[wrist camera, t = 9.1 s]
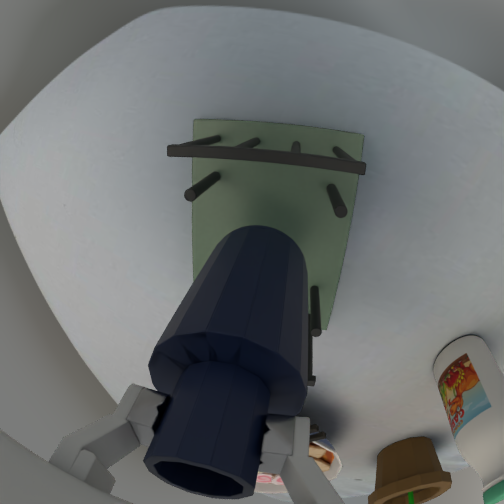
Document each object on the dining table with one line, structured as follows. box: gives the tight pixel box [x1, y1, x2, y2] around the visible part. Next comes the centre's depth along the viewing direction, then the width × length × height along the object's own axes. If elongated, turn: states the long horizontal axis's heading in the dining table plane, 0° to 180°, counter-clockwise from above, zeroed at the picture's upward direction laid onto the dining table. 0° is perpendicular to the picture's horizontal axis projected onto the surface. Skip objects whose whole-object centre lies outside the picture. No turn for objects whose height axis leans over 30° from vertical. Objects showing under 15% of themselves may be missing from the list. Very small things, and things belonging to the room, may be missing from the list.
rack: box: [167, 119, 366, 386], centre depth 22 cm, size 18×13×10 cm
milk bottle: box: [433, 335, 504, 504], centre depth 20 cm, size 8×8×20 cm
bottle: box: [143, 225, 308, 499], centre depth 13 cm, size 6×6×14 cm
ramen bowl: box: [254, 424, 343, 493], centre depth 35 cm, size 25×23×8 cm
